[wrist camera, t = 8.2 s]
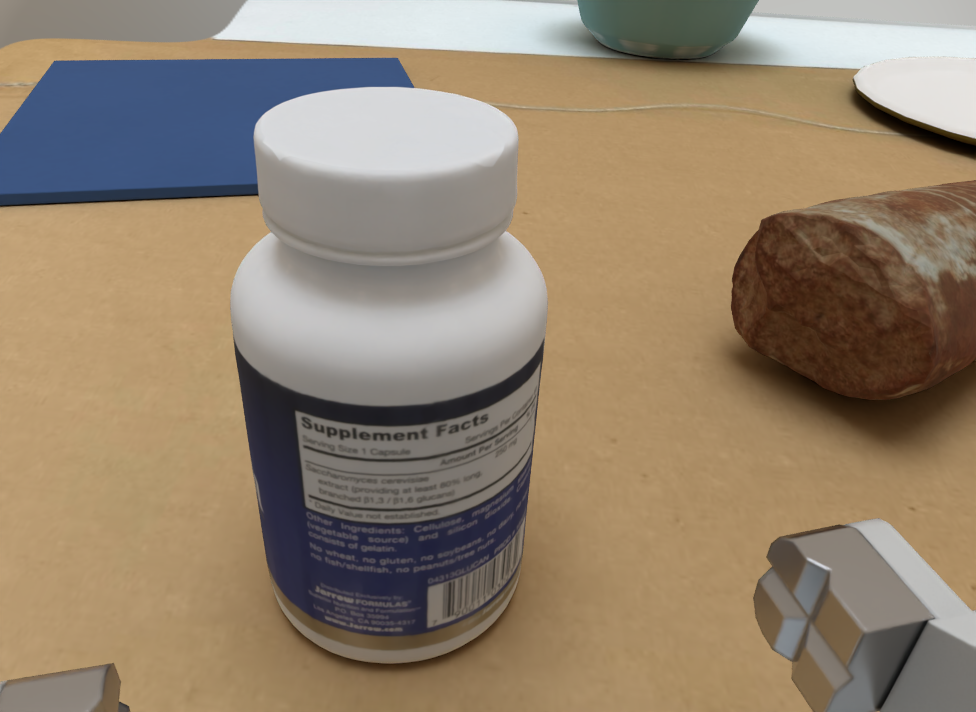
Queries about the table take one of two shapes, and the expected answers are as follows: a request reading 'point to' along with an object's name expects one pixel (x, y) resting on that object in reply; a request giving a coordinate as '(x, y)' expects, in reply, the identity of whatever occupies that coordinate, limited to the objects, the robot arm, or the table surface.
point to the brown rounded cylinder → (865, 290)
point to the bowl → (665, 25)
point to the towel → (159, 125)
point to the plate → (925, 93)
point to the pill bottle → (389, 367)
